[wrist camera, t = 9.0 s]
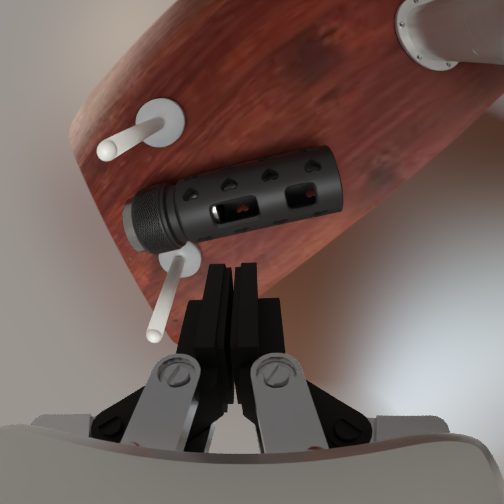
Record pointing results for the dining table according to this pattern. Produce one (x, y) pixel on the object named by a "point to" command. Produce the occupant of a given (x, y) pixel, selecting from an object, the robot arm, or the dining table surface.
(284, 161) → the muzzle brake
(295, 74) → the dining table surface
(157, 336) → the cord post
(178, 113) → the post
